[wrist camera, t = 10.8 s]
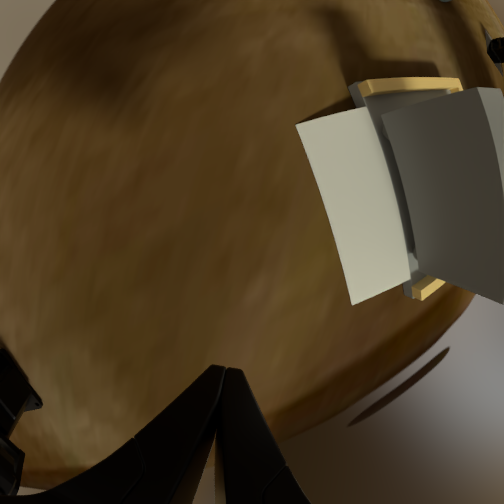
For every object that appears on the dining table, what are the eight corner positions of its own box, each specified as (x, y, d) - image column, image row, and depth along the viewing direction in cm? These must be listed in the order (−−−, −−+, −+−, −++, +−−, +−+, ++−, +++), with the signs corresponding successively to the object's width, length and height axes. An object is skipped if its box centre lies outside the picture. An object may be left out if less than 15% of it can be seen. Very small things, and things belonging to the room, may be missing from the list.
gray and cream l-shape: (409, 267, 19) (503, 304, 10) (370, 118, 16) (477, 87, 7) (476, 218, 21) (548, 232, 12) (450, 105, 18) (526, 92, 9)
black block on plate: (479, 23, 19) (495, 17, 15) (500, 51, 21) (515, 47, 17) (482, 54, 20) (502, 49, 16) (503, 86, 22) (522, 83, 18)
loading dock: (351, 321, 21) (372, 337, 18) (280, 102, 17) (297, 86, 14) (473, 236, 24) (493, 240, 21) (437, 82, 19) (457, 76, 16)
